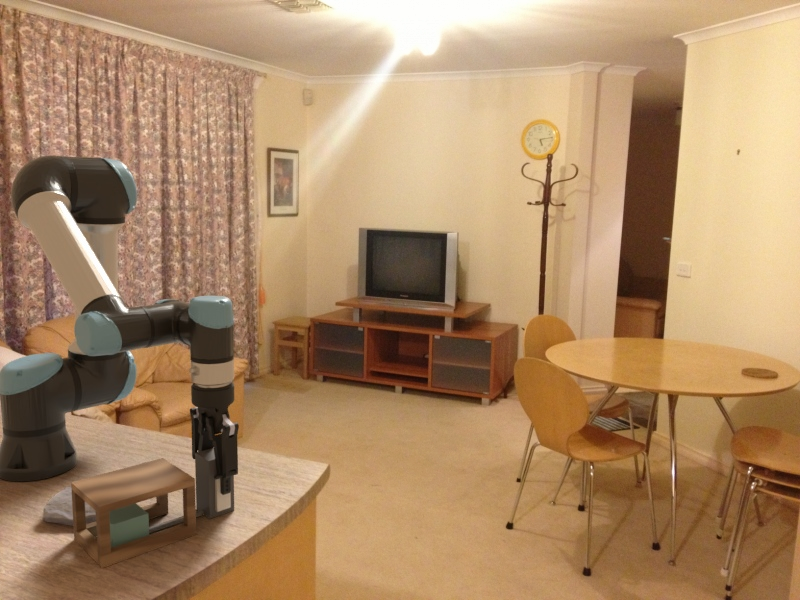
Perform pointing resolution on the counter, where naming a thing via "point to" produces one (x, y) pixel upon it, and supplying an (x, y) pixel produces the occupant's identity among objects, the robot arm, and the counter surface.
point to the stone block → (65, 509)
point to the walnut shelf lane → (125, 491)
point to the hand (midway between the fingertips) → (215, 503)
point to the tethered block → (135, 520)
